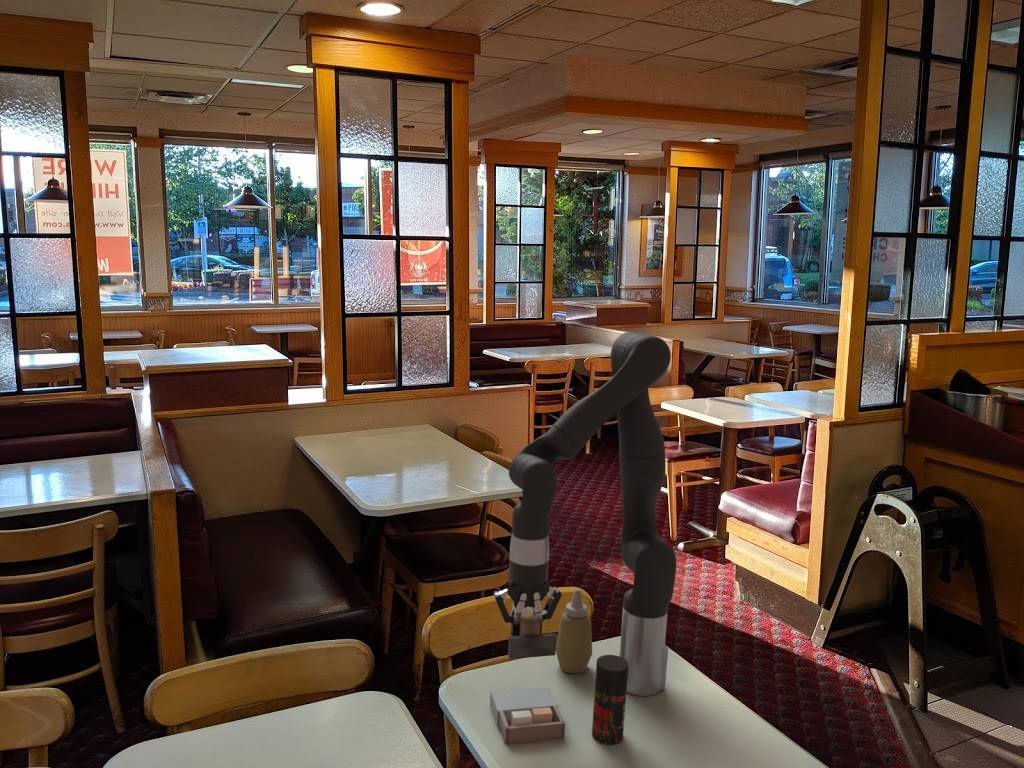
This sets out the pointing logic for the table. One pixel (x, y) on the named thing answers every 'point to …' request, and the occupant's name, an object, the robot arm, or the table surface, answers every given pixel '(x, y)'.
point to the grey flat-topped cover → (520, 700)
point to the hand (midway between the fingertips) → (525, 638)
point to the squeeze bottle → (574, 637)
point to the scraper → (531, 639)
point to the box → (532, 729)
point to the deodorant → (609, 699)
